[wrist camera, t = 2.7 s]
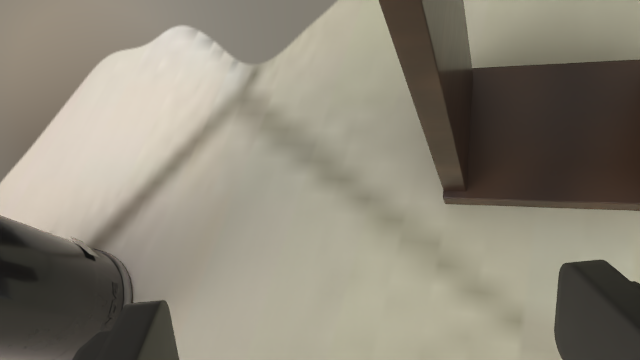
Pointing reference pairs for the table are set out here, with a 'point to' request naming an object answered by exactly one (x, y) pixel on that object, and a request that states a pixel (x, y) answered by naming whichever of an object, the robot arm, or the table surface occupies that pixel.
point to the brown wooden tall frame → (518, 118)
